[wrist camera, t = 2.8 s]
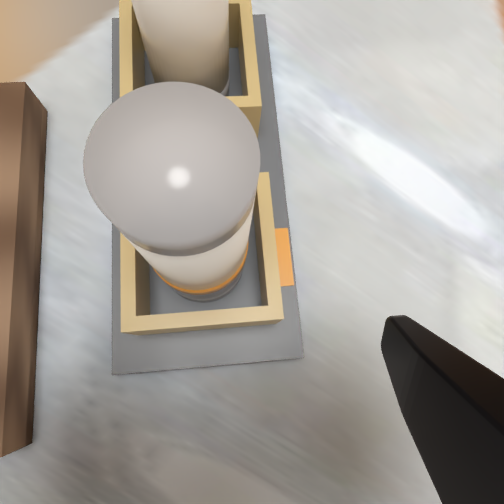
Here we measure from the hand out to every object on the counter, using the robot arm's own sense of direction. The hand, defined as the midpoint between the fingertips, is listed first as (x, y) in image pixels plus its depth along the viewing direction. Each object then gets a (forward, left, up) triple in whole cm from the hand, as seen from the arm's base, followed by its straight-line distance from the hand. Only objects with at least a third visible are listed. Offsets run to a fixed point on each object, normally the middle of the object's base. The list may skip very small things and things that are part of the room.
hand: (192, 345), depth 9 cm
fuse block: (+9, +2, -11) cm, 14 cm away
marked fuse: (+4, +1, -10) cm, 11 cm away
